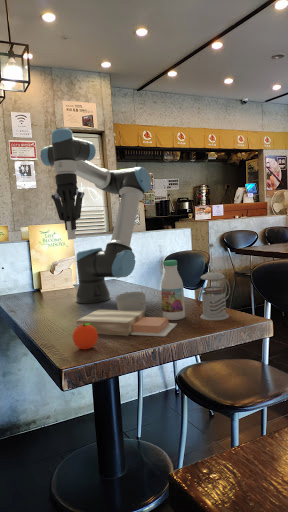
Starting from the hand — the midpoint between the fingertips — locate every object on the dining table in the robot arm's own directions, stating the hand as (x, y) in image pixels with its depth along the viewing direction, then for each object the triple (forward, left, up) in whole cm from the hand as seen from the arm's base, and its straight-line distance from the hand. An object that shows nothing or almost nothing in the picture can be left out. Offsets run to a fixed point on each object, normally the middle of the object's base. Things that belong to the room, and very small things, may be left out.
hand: (71, 239), depth 136 cm
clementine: (+29, +21, -30) cm, 46 cm away
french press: (-8, +50, -30) cm, 59 cm away
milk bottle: (-4, +36, -30) cm, 47 cm away
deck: (+10, +19, -29) cm, 36 cm away
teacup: (-6, +19, -30) cm, 36 cm away
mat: (+10, +34, -29) cm, 46 cm away
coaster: (+10, +33, -29) cm, 45 cm away
